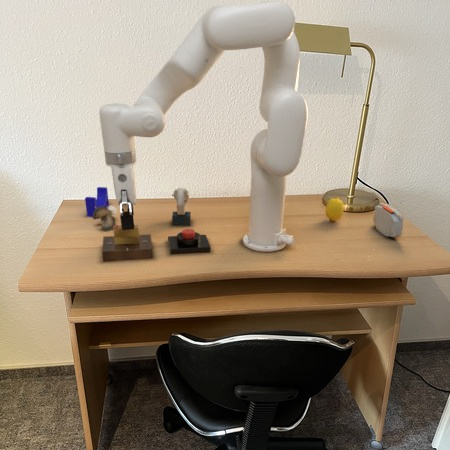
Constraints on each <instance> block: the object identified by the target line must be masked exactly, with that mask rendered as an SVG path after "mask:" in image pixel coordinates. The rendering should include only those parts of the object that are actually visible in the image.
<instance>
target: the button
mask: <svg viewBox="0 0 450 450" xmlns="http://www.w3.org/2000/svg"><path fill="white" fill-rule="evenodd" d="M181 232H182V237H183V238H186V239H192V238H195V232H196V230H195V229H193V228H184V229H182V230H181Z"/></svg>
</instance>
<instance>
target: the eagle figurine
mask: <svg viewBox="0 0 450 450" xmlns="http://www.w3.org/2000/svg"><path fill="white" fill-rule="evenodd" d="M94 207H95V208H96V209H95V210H94V213H93V217H92V219H93V221H94V220H98V222H97V225H98V226H99V225H101V224H102V225H101V227H100V230H101V231H104V232H107V231H110V230H112V229H113V228H114V225H116V218H115V215H116V214H117V208H116V206H114V205H112V204H111V205H110V204H109V205H108V206H107V209H106V207H105V206H104V207H103V206H102V207H100V206H99V207H96V206H94Z"/></svg>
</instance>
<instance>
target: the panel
mask: <svg viewBox="0 0 450 450" xmlns="http://www.w3.org/2000/svg"><path fill="white" fill-rule="evenodd" d="M101 249H102V250H101V254H102V261H103V262H105V263H106V262H119V261H120V262H122V261H123V262H124V261H139V260H153V259H154V255H153V243H152V236H151V234H150V233H149V234H139V244H117V245H115V240H114V235H110V236H103V237H102V248H101Z"/></svg>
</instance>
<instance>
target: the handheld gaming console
mask: <svg viewBox="0 0 450 450" xmlns="http://www.w3.org/2000/svg"><path fill="white" fill-rule="evenodd" d="M372 221H373V223H374V225H375V229H376V230H377V231H378V232H379V233H381V234H382V235H383V236H385V237H391V238H400V237H401V236H402V234H403V227H404V217H403V216H402V214H401V213H400V211H399V210H398V209H396V208H394V207H393V206H391V205H390V204H389V203H384V202H380V203H378V205H375V206H374V212H373V216H372Z"/></svg>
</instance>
